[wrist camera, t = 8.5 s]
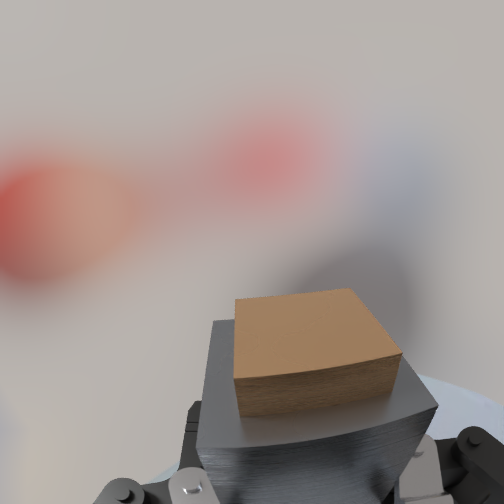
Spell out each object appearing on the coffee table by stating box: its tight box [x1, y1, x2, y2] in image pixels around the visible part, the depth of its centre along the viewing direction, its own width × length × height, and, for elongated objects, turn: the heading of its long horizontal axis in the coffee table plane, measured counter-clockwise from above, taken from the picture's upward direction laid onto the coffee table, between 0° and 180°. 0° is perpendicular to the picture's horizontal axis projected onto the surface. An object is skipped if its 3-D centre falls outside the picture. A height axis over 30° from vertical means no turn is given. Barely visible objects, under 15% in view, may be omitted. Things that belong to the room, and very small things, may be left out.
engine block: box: [196, 288, 439, 504], centre depth 7 cm, size 4×4×11 cm
